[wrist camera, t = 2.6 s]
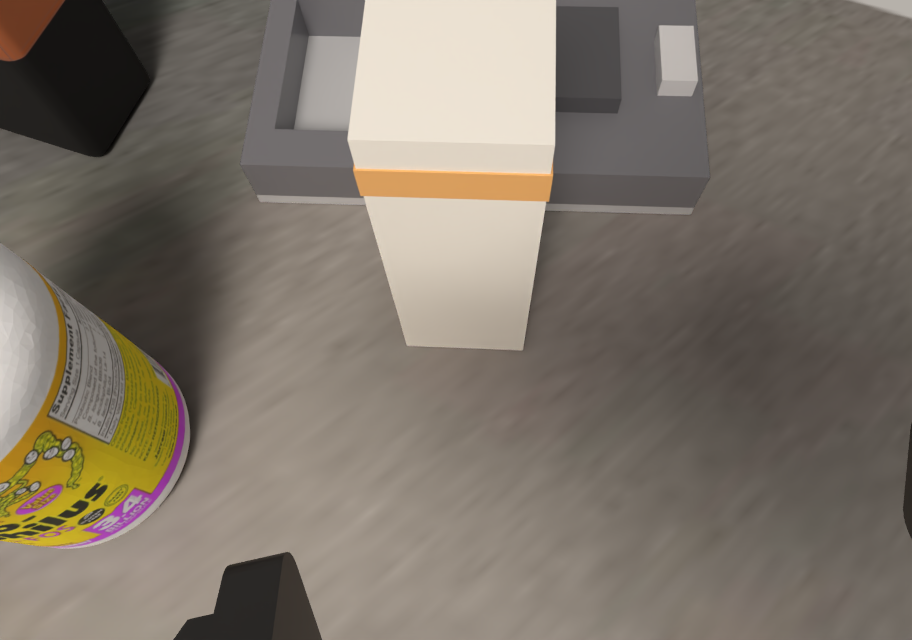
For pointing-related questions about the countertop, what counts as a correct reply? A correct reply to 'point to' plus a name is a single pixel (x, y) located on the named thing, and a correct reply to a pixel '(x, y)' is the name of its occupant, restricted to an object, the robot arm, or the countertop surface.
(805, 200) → the countertop surface
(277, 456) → the countertop surface
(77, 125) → the battery
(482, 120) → the white tall block
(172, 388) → the supplement bottle
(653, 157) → the grey tray
